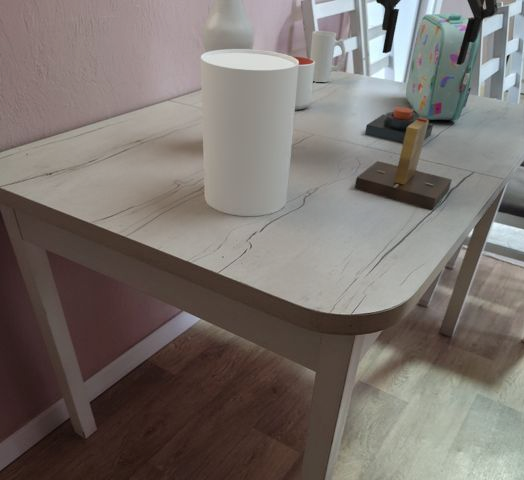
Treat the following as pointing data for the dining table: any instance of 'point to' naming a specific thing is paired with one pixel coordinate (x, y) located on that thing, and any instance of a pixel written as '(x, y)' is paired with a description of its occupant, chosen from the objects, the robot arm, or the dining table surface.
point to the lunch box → (440, 68)
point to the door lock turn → (411, 150)
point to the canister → (247, 129)
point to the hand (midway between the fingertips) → (422, 57)
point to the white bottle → (227, 27)
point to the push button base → (392, 128)
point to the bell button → (402, 113)
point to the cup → (304, 82)
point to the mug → (325, 54)
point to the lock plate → (413, 191)
